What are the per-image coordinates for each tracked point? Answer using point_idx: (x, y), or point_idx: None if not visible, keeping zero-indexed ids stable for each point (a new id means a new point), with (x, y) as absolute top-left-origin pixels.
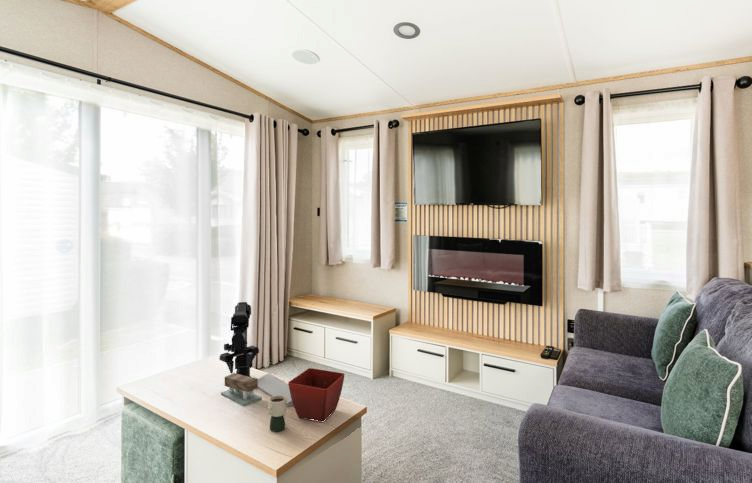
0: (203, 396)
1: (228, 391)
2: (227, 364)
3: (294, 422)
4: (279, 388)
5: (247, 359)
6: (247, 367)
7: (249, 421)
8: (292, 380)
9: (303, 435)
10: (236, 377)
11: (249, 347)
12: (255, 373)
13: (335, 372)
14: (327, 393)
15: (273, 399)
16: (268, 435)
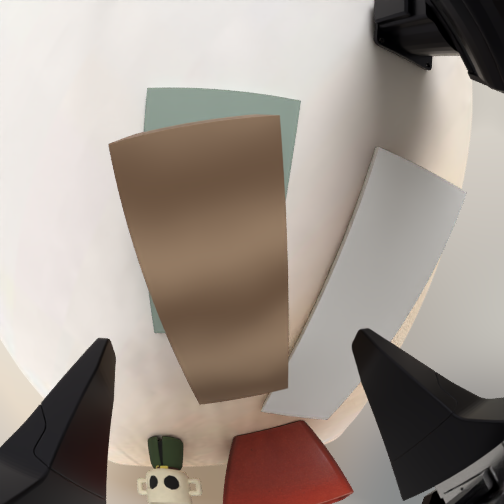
0: (70, 42)
1: (192, 113)
2: (21, 444)
3: (211, 441)
4: (346, 348)
5: (424, 406)
6: (359, 336)
7: (123, 399)
8: None
9: (190, 458)
10: (199, 270)
11: None
12: (459, 57)
13: (343, 498)
14: None
15: (167, 495)
16: (136, 440)
